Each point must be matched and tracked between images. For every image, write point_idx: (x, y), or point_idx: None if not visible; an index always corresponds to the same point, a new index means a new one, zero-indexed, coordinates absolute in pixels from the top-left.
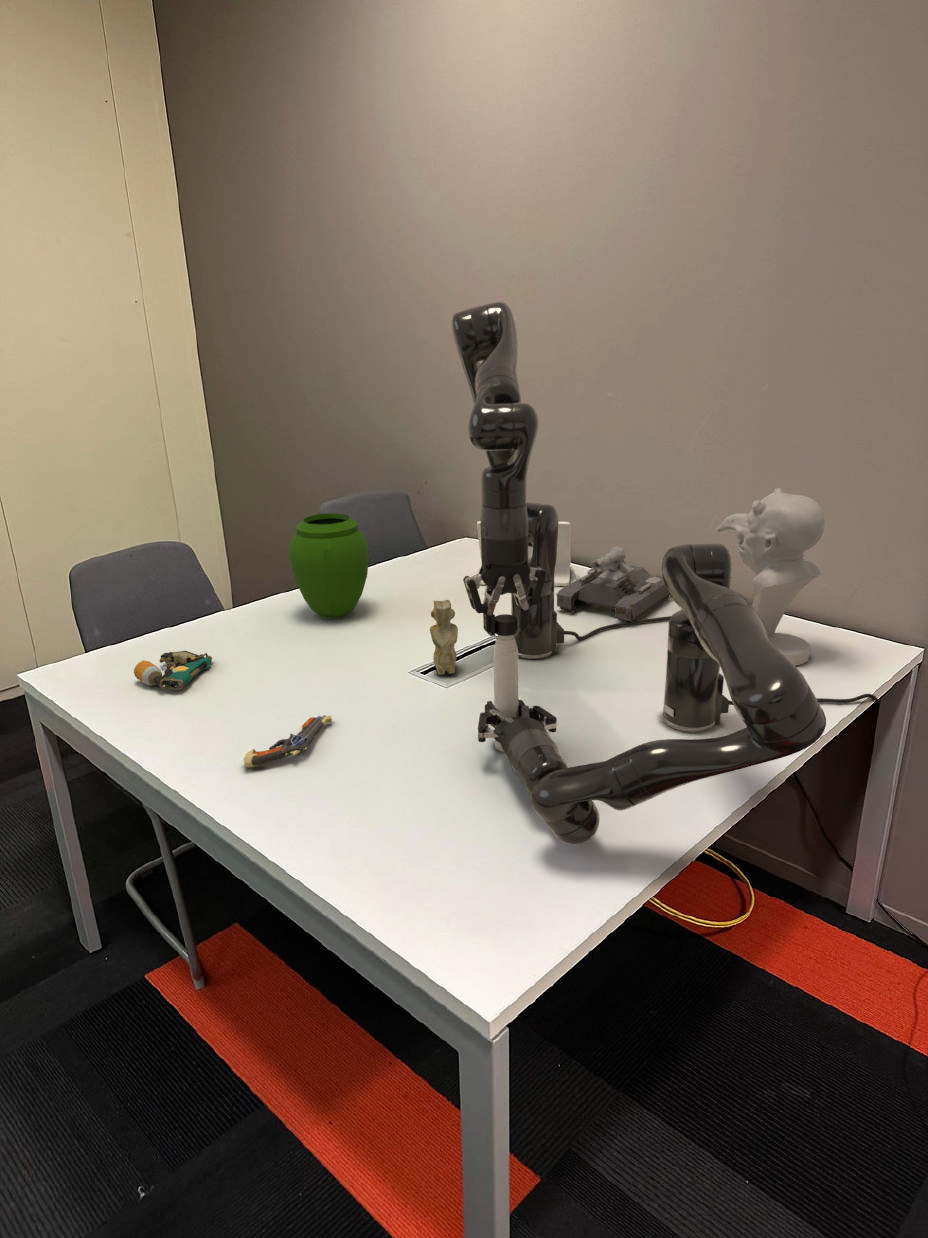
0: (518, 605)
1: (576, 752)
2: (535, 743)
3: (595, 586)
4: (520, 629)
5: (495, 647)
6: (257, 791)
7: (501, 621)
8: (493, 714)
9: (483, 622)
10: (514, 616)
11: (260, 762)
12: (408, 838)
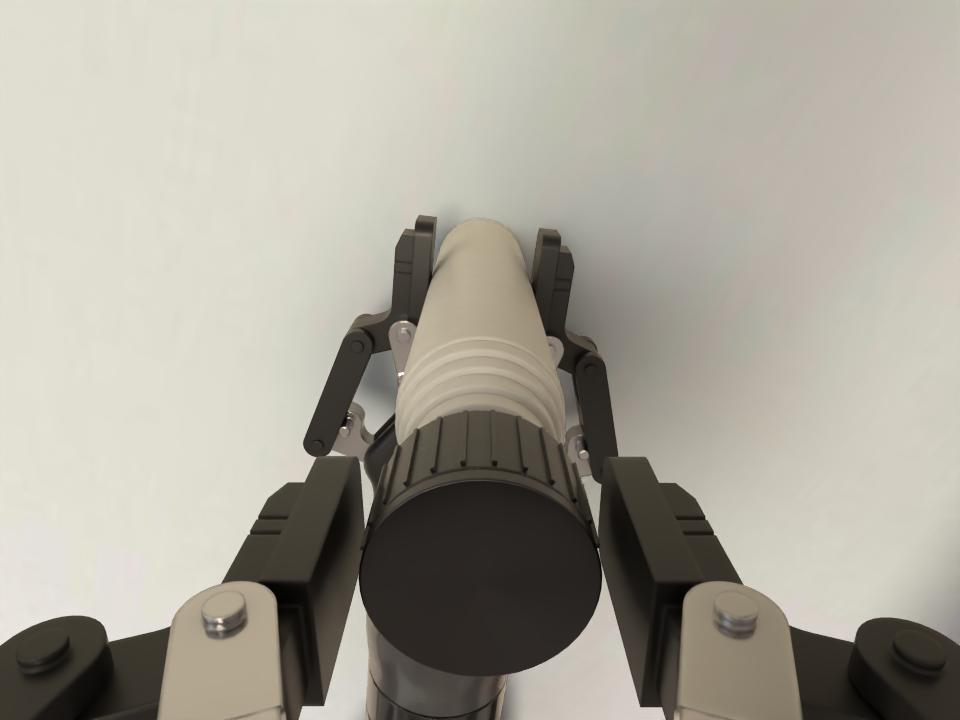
0: (672, 658)
1: (672, 378)
2: (425, 706)
3: None
4: (601, 551)
5: (399, 437)
6: None
7: (408, 646)
8: (396, 365)
9: (249, 537)
10: (587, 579)
11: None
12: (94, 583)
